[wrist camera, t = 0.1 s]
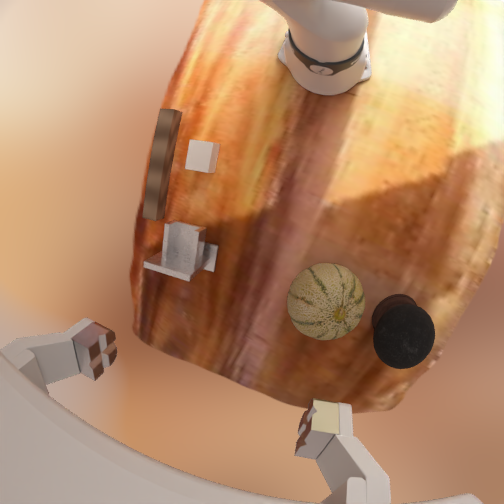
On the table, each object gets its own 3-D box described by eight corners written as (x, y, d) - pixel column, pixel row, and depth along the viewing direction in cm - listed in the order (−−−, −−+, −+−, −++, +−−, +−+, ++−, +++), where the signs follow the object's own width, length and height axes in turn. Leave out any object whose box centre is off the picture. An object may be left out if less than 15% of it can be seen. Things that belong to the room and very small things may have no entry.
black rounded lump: (373, 288, 55) (388, 323, 41) (427, 291, 53) (452, 324, 39) (362, 340, 59) (371, 382, 45) (413, 341, 57) (430, 380, 43)
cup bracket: (171, 215, 61) (142, 226, 49) (221, 227, 59) (199, 241, 48) (167, 257, 64) (139, 274, 53) (214, 270, 62) (193, 292, 51)
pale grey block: (198, 141, 55) (190, 139, 51) (220, 144, 54) (213, 142, 50) (193, 168, 57) (184, 168, 53) (215, 172, 56) (207, 172, 52)
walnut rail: (169, 111, 54) (160, 108, 51) (182, 112, 54) (174, 109, 50) (151, 214, 62) (142, 217, 58) (164, 217, 62) (155, 221, 58)
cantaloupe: (277, 295, 61) (265, 331, 47) (315, 239, 55) (315, 262, 41) (333, 328, 60) (335, 370, 46) (373, 276, 55) (388, 310, 41)
